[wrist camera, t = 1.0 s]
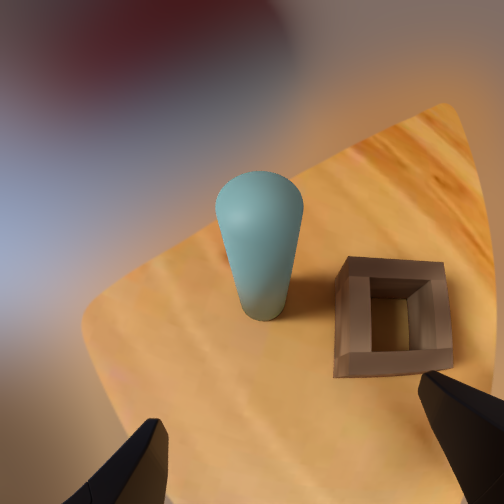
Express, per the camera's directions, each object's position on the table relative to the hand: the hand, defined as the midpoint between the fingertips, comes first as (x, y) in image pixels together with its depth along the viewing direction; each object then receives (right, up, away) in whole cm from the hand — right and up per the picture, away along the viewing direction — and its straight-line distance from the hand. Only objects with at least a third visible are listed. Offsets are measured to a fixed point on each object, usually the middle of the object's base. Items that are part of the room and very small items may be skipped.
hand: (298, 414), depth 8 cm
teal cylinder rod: (-1, +1, +15) cm, 15 cm away
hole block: (+9, -1, +14) cm, 17 cm away
